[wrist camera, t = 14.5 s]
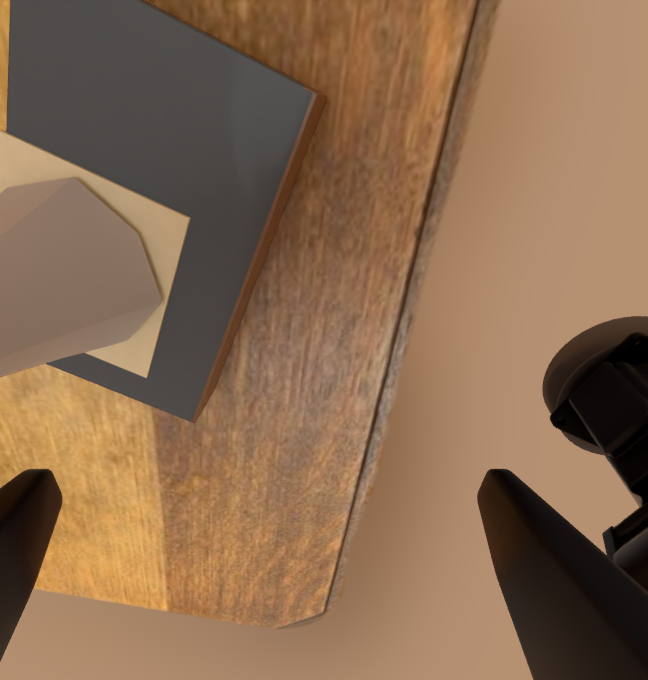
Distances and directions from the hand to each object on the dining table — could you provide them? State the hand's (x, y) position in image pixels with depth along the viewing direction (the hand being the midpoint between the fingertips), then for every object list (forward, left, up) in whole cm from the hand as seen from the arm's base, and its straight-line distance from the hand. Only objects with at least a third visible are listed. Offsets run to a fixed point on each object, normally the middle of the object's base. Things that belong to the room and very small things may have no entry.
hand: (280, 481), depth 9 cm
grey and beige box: (+8, +1, -13) cm, 15 cm away
